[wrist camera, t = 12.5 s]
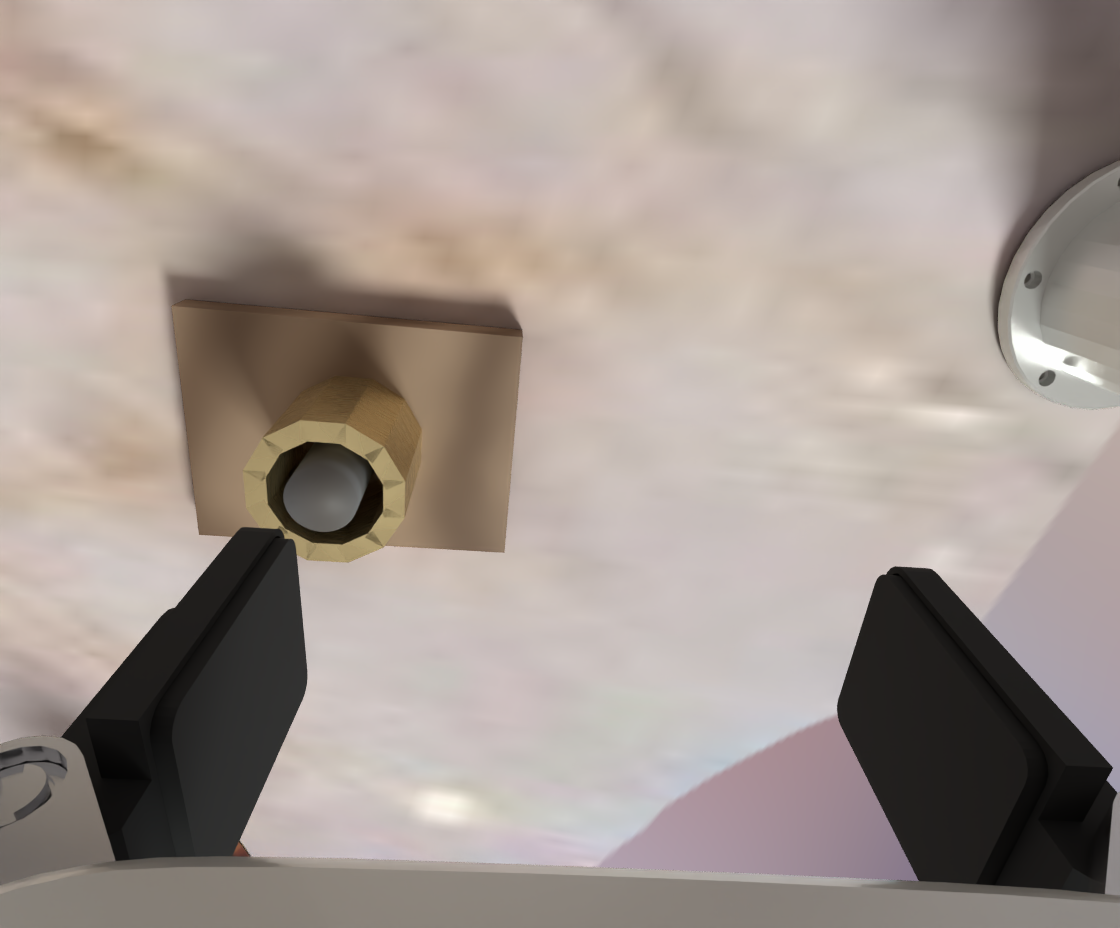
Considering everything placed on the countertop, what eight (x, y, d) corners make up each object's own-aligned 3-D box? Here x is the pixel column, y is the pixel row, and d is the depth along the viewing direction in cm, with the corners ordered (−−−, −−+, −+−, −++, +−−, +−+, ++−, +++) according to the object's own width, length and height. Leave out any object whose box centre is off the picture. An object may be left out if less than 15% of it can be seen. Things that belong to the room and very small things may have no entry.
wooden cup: (423, 382, 34) (406, 427, 28) (420, 503, 36) (403, 565, 31) (283, 371, 33) (237, 415, 28) (290, 494, 36) (250, 557, 30)
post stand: (522, 329, 35) (524, 378, 27) (504, 538, 39) (502, 627, 32) (185, 299, 33) (92, 342, 26) (210, 520, 38) (138, 609, 31)
